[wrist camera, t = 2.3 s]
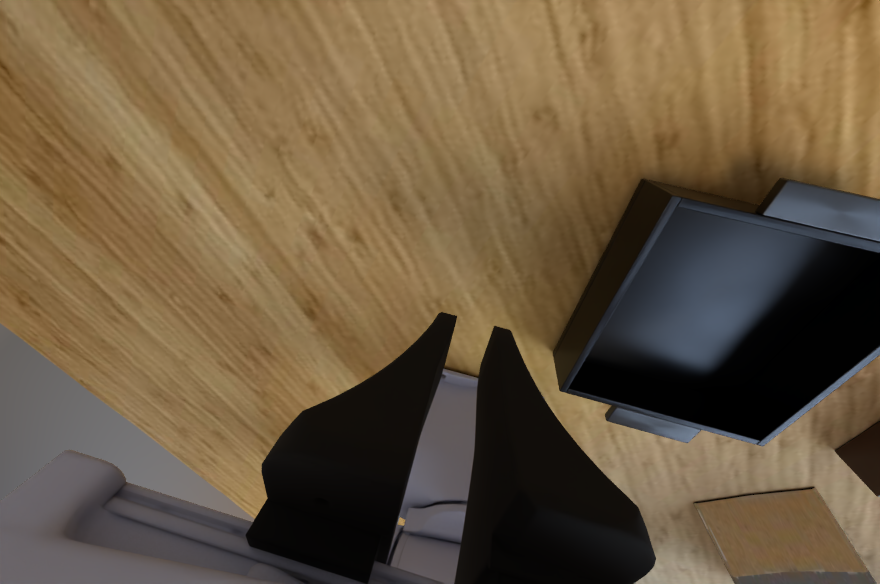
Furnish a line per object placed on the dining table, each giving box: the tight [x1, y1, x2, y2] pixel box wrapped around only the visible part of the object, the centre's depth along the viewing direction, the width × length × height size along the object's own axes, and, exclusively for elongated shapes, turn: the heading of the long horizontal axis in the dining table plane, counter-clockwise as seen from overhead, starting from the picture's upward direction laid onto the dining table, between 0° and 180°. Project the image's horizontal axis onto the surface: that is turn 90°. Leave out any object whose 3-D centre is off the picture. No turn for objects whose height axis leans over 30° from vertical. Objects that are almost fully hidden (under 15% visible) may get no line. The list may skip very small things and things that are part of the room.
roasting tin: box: [553, 178, 880, 446], centre depth 17 cm, size 12×15×4 cm
